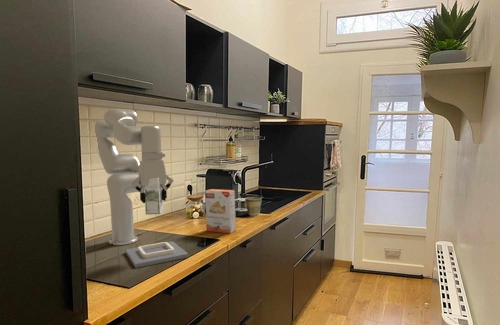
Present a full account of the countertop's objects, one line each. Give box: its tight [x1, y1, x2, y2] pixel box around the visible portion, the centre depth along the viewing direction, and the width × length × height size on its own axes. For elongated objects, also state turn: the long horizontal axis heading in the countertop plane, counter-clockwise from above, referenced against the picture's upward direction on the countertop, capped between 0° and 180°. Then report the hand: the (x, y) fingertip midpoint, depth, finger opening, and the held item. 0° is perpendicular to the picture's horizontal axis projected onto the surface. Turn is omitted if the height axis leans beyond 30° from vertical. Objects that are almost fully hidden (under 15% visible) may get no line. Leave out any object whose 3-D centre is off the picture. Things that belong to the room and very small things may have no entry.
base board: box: [125, 241, 189, 269], centre depth 137 cm, size 20×20×3 cm
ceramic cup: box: [245, 196, 263, 217], centre depth 209 cm, size 13×10×10 cm
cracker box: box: [204, 188, 237, 235], centre depth 171 cm, size 14×6×21 cm, turn 65°
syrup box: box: [144, 177, 164, 215], centre depth 136 cm, size 6×6×14 cm
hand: (153, 201), depth 136 cm, fingers closed on syrup box, 7 cm apart
